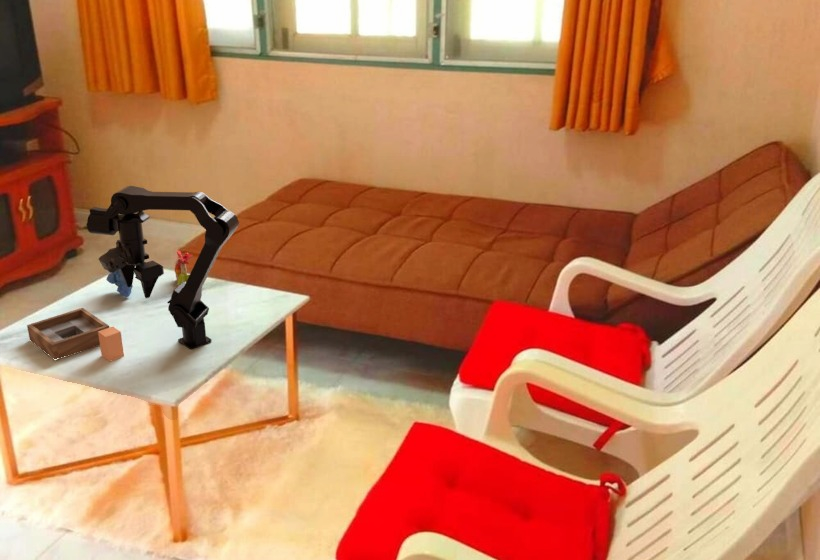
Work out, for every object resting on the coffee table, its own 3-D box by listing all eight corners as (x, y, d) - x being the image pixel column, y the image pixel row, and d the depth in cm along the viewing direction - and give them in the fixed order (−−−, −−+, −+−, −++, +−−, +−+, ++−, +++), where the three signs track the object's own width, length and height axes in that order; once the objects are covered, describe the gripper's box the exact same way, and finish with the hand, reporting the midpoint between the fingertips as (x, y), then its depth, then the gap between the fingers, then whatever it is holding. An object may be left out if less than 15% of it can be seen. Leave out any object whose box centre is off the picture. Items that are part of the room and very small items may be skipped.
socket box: (111, 340, 204) (109, 325, 202) (55, 360, 194) (52, 345, 192) (84, 322, 213) (82, 307, 211) (29, 340, 203) (26, 325, 201)
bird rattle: (170, 289, 239) (181, 287, 232) (161, 254, 238) (171, 251, 231) (189, 284, 243) (200, 282, 236) (180, 250, 242) (191, 247, 235)
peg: (124, 355, 197) (120, 331, 194) (109, 361, 194) (105, 336, 192) (116, 350, 200) (112, 326, 197) (101, 355, 197) (97, 331, 194)
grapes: (102, 291, 232) (96, 254, 227) (124, 285, 236) (119, 249, 231) (116, 305, 224) (110, 267, 219) (138, 299, 227) (134, 261, 223)
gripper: (83, 234, 196) (92, 290, 202) (119, 254, 184) (127, 313, 190) (124, 224, 203) (131, 278, 209) (161, 243, 192) (168, 300, 198)
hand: (138, 292), depth 202 cm, fingers open, 9 cm apart
